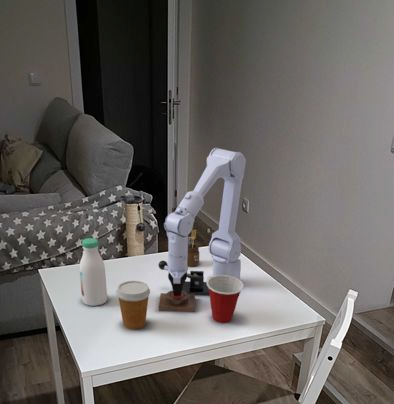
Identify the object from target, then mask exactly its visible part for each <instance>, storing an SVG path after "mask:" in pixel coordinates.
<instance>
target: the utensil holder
mask: <svg viewBox="0 0 394 404" xmlns="http://www.w3.org/2000/svg"><path fill="white" fill-rule="evenodd" d="M196 236H197V230H196V229H192V231H191V235H190V236H188V239H190V240H188V257H187V267H197V266H198V265H199V263H200V251H199V250H200V248H199V245H198V244H196V243H194V242H195V239H196V238H197V237H196ZM191 241H192V242H191Z"/></svg>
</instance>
